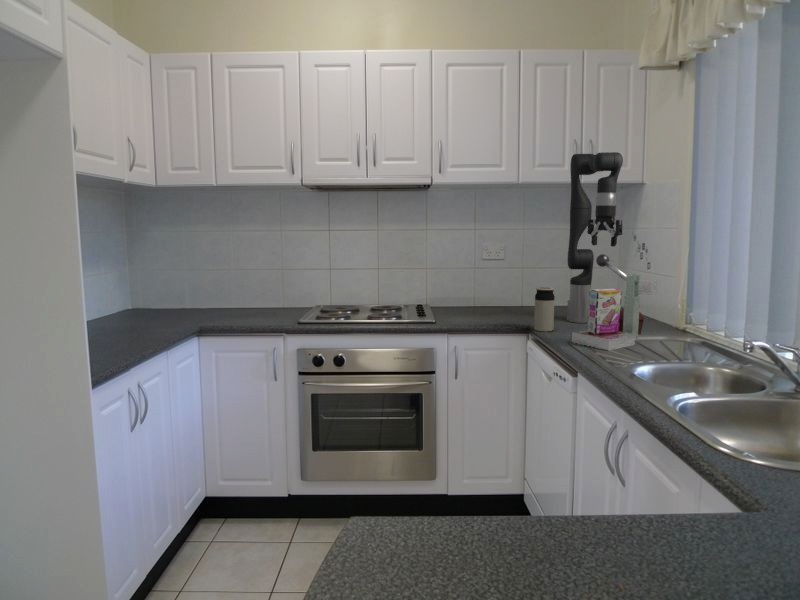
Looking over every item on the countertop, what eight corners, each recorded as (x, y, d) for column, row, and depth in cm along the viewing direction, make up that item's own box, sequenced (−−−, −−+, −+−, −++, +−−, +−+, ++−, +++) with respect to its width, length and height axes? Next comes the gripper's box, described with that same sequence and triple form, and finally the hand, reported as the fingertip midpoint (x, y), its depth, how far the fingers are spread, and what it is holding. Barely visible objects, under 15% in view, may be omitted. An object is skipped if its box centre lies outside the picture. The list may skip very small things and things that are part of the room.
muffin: (616, 329, 237) (617, 306, 236) (644, 331, 232) (645, 308, 231) (612, 334, 227) (613, 310, 226) (642, 337, 222) (643, 312, 220)
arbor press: (571, 342, 212) (574, 277, 208) (613, 334, 227) (616, 273, 223) (608, 350, 199) (612, 280, 195) (649, 341, 214) (653, 276, 210)
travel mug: (540, 332, 232) (541, 289, 229) (530, 328, 240) (531, 287, 237) (557, 331, 234) (558, 288, 232) (547, 327, 242) (548, 286, 239)
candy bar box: (595, 335, 205) (597, 290, 203) (586, 332, 210) (588, 289, 208) (620, 332, 209) (622, 289, 207) (610, 330, 214) (612, 288, 211)
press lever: (592, 288, 228) (593, 254, 226) (599, 287, 230) (601, 253, 228) (649, 294, 207) (651, 257, 205) (656, 293, 210) (659, 256, 208)
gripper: (584, 204, 223) (582, 245, 226) (616, 204, 212) (613, 247, 214) (596, 204, 227) (594, 244, 230) (627, 204, 216) (625, 246, 218)
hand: (603, 245), depth 222 cm, fingers open, 8 cm apart
